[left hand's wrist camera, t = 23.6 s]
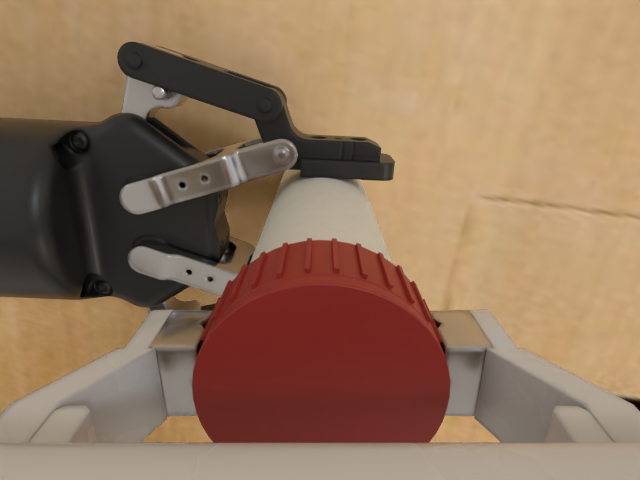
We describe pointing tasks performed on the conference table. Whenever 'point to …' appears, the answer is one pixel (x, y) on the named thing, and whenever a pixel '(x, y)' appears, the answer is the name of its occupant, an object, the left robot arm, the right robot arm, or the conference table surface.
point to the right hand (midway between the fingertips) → (382, 224)
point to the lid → (321, 352)
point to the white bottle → (320, 214)
